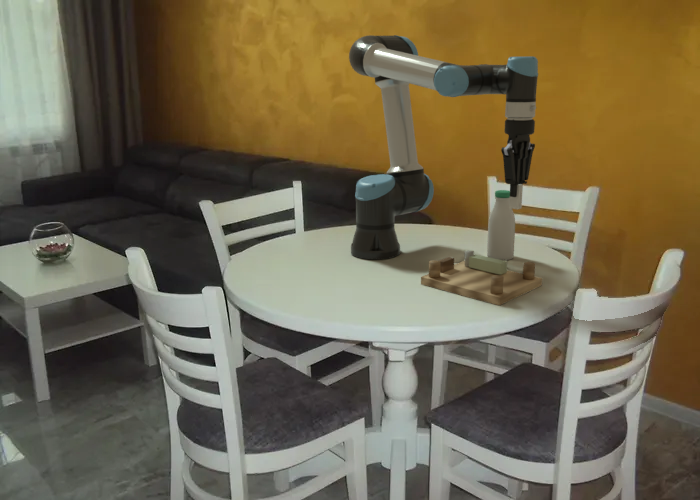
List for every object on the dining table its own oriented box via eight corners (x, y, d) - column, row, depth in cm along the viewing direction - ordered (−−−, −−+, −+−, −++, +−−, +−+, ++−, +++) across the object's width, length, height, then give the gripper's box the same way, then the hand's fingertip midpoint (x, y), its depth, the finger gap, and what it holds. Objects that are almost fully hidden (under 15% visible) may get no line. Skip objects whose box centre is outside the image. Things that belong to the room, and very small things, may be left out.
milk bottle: (513, 261, 196) (517, 194, 190) (486, 260, 197) (489, 193, 192) (513, 254, 203) (516, 189, 197) (487, 253, 204) (489, 188, 199)
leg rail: (462, 266, 185) (462, 252, 184) (468, 263, 187) (468, 249, 186) (500, 275, 177) (501, 260, 175) (506, 272, 179) (507, 258, 177)
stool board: (420, 284, 177) (421, 262, 176) (465, 267, 191) (465, 246, 189) (499, 305, 161) (500, 281, 159) (541, 285, 175) (543, 263, 173)
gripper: (519, 121, 166) (514, 214, 173) (546, 117, 175) (540, 206, 182) (493, 119, 171) (489, 210, 178) (520, 116, 180) (516, 202, 187)
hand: (515, 208), depth 180 cm, fingers closed
